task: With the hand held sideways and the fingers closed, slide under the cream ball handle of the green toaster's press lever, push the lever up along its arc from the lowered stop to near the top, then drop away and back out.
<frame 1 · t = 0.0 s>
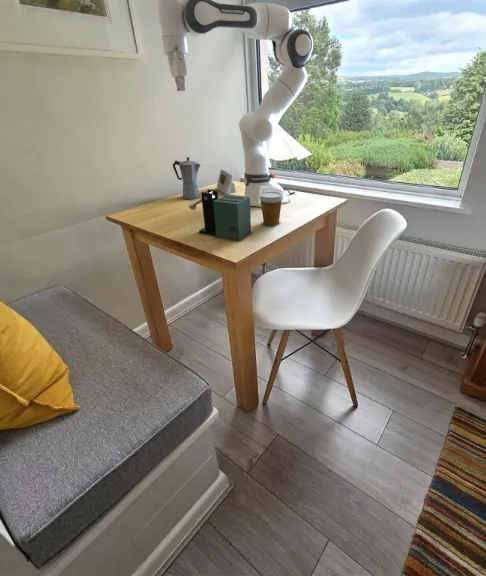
hand: (181, 91, 127), 48 cm above the table, tool pointing down, fingers open, 8 cm apart
lever bracket: (213, 231, 129), on the table
moka pot: (190, 197, 171), on the table
toaster: (234, 234, 125), on the table
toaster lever: (200, 201, 125), point 12 cm above the table, hinge at -28.0°
disposable coffee cup: (271, 223, 135), on the table
digital clock: (225, 191, 179), on the table
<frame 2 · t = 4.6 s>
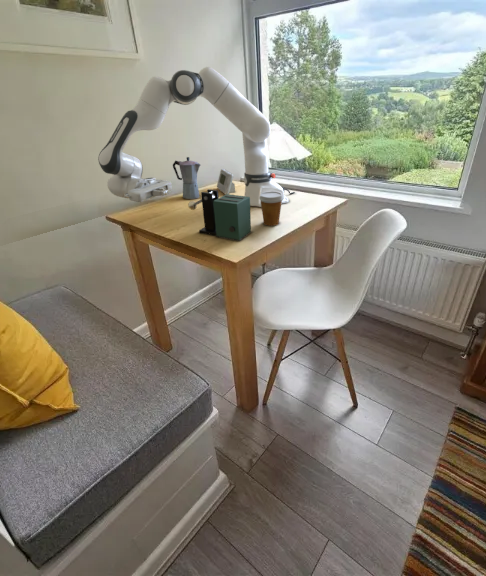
hand: (165, 193, 131), 13 cm above the table, tool horizontal, fingers closed
nothing on the table moved.
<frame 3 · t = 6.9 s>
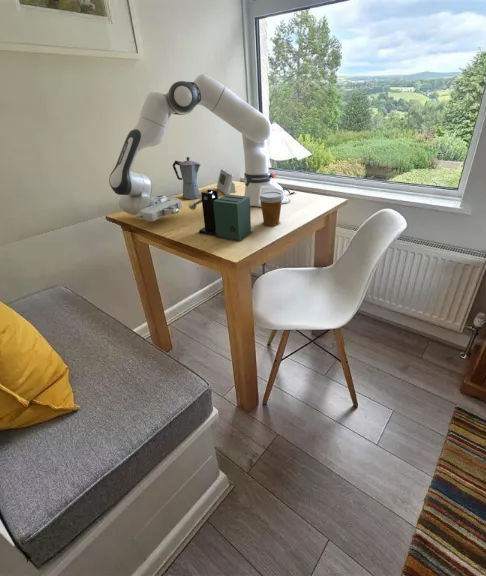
hand: (176, 211, 133), 6 cm above the table, tool horizontal, fingers closed
nothing on the table moved.
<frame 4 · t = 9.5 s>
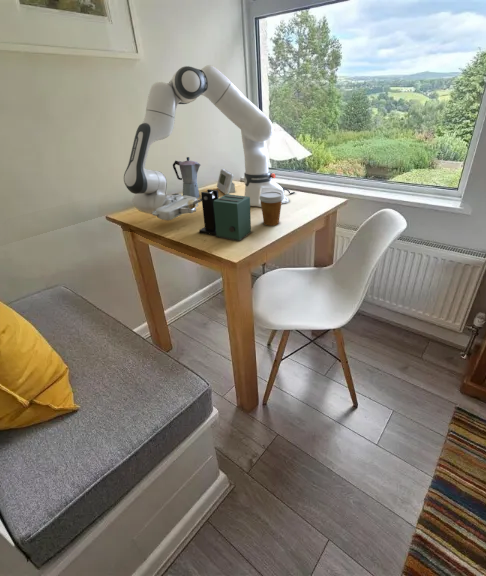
hand: (193, 210, 129), 7 cm above the table, tool horizontal, fingers closed, pressing on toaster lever
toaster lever: (200, 200, 125), point 12 cm above the table, hinge at -24.3°, touching gripper
everything else where it was.
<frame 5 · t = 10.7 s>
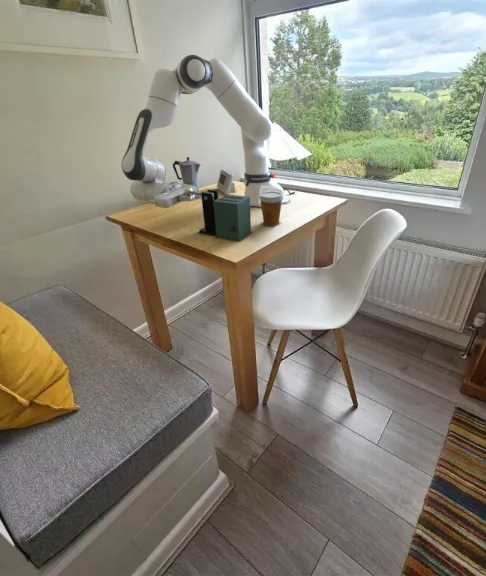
hand: (192, 198, 126), 12 cm above the table, tool horizontal, fingers closed, pressing on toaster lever
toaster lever: (198, 193, 124), point 14 cm above the table, hinge at 4.8°, touching gripper
everything else where it was.
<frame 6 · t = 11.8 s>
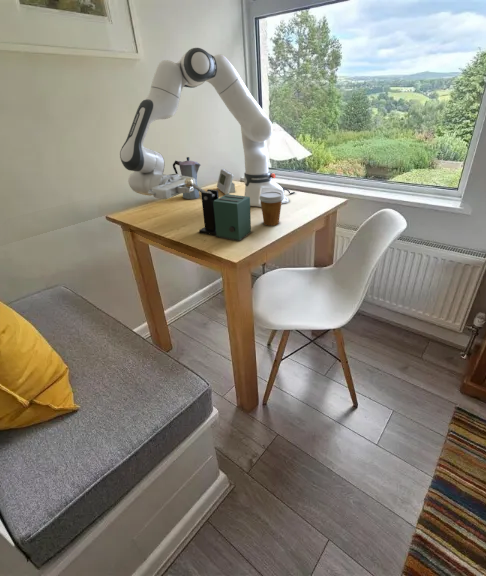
hand: (191, 189, 124), 16 cm above the table, tool horizontal, fingers closed, pressing on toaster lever
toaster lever: (199, 189, 122), point 16 cm above the table, hinge at 24.4°, touching gripper
everything else where it was.
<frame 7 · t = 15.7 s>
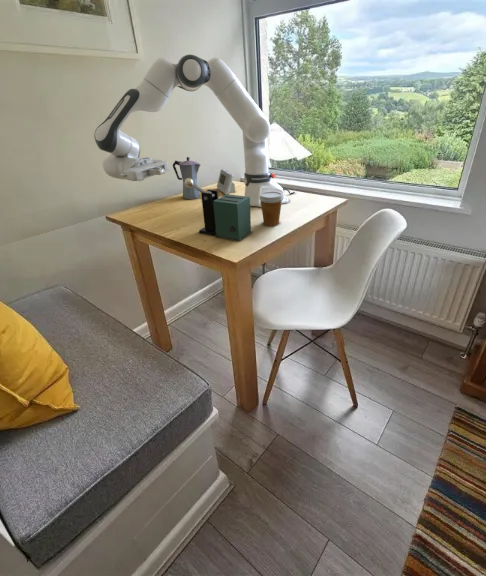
hand: (162, 171, 126), 21 cm above the table, tool horizontal, fingers closed
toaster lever: (199, 189, 122), point 16 cm above the table, hinge at 24.5°
everything else where it was.
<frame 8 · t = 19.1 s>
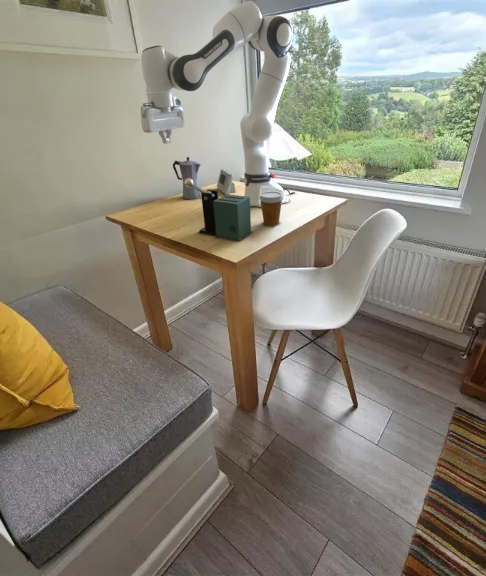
hand: (167, 143, 124), 31 cm above the table, tool pointing down, fingers closed
nothing on the table moved.
at the end: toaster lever at +24° (first picture: -28°); the gripper is holding nothing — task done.
